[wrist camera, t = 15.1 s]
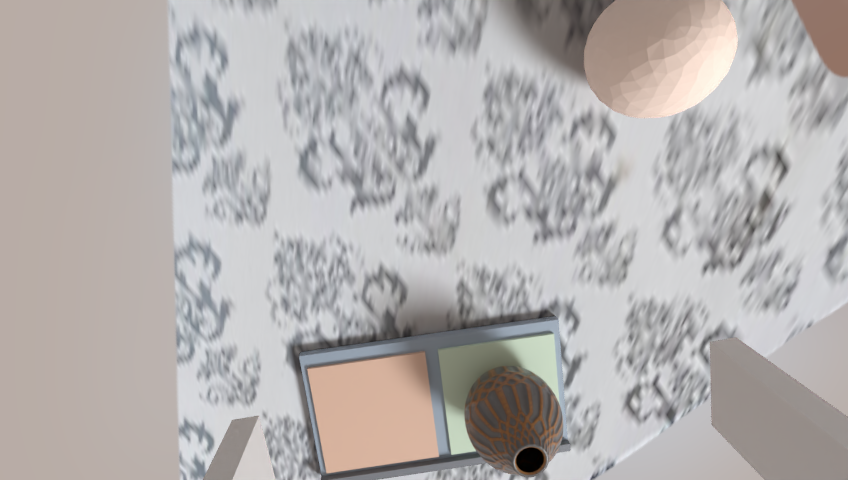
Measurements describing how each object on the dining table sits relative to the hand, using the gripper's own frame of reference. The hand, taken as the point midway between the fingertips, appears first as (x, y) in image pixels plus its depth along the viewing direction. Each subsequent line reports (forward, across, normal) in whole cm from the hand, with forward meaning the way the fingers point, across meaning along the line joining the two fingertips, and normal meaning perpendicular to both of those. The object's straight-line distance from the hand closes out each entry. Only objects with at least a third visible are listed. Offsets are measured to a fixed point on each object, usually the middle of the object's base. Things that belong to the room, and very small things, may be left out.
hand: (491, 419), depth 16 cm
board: (+26, -2, -14) cm, 30 cm away
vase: (+25, +4, -14) cm, 29 cm away
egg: (+27, +15, +9) cm, 32 cm away
